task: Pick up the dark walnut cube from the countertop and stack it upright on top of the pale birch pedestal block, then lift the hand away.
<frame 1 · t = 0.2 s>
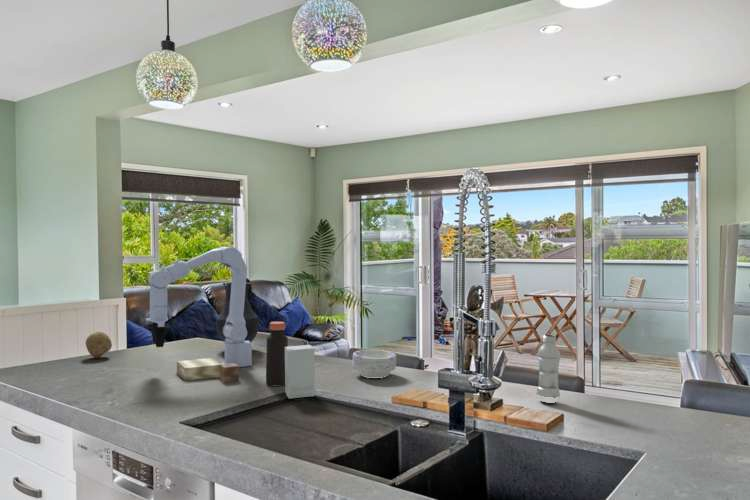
hand: (158, 344, 196), 10 cm above the worktop, tool pointing down, fingers open, 7 cm apart
natural sponge: (98, 358, 220), on the worktop
vinegar: (276, 384, 185), on the worktop
walnut cube: (229, 380, 189), on the worktop
skincare box: (299, 396, 172), on the worktop
birch pedestal: (198, 374, 196), on the worktop
plastic bottle: (547, 403, 169), on the worktop
grey stone bowl: (374, 376, 199), on the worktop
pitcher: (239, 349, 241), on the worktop
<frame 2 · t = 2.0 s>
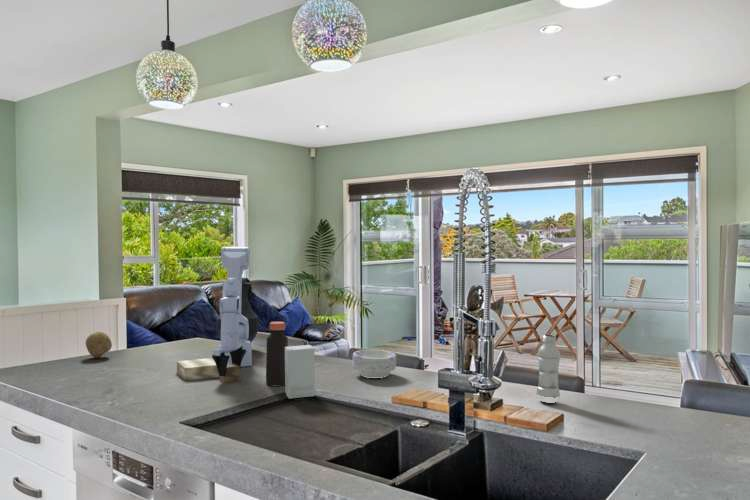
hand: (229, 373, 189), 2 cm above the worktop, tool pointing down, fingers open, 7 cm apart
walnut cube: (229, 380, 189), on the worktop, touching gripper
everything else where it was.
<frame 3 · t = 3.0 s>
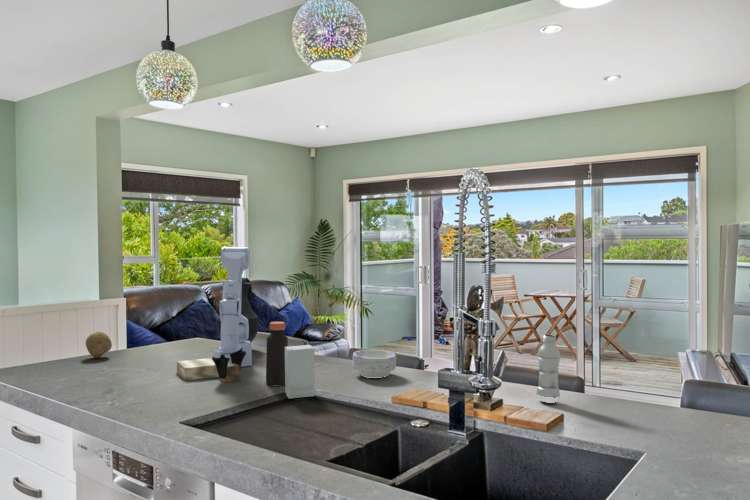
hand: (229, 375, 189), 1 cm above the worktop, tool pointing down, fingers closed on walnut cube, 7 cm apart
walnut cube: (229, 379, 189), on the worktop, touching gripper
everything else where it was.
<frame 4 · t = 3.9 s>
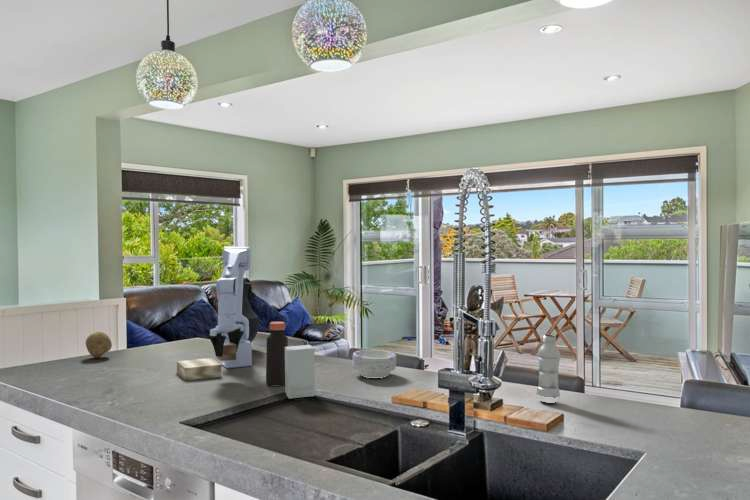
hand: (226, 354, 190), 8 cm above the worktop, tool pointing down, fingers closed on walnut cube, 7 cm apart
walnut cube: (226, 358, 190), point 7 cm above the worktop, touching gripper
everything else where it was.
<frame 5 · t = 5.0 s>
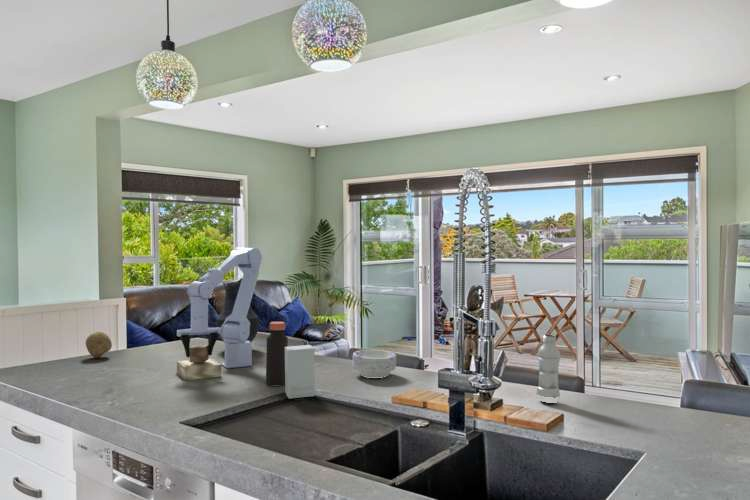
hand: (198, 355, 196), 6 cm above the worktop, tool pointing down, fingers closed on walnut cube, 7 cm apart
walnut cube: (199, 360, 196), point 5 cm above the worktop, touching gripper
everything else where it was.
when the fingers open (6 cm above the worktop, at t = 5.6 s): walnut cube stays where it is, resting on birch pedestal.
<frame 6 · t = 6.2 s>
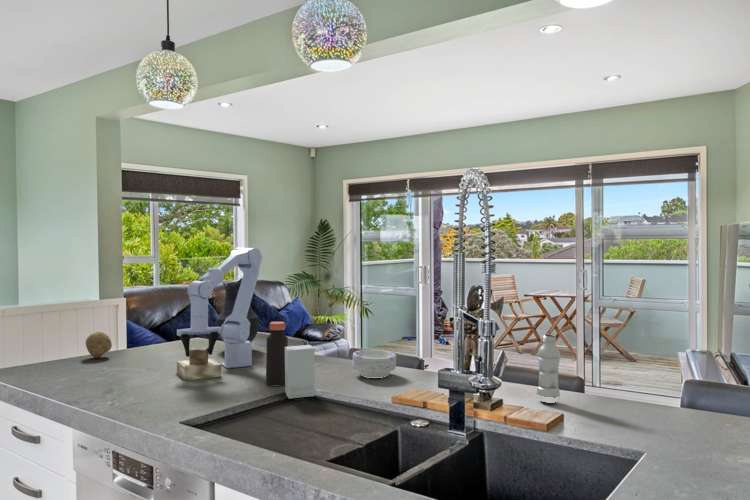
hand: (199, 355, 196), 7 cm above the worktop, tool pointing down, fingers open, 7 cm apart
walnut cube: (198, 363, 196), point 4 cm above the worktop, touching birch pedestal, gripper
everything else where it was.
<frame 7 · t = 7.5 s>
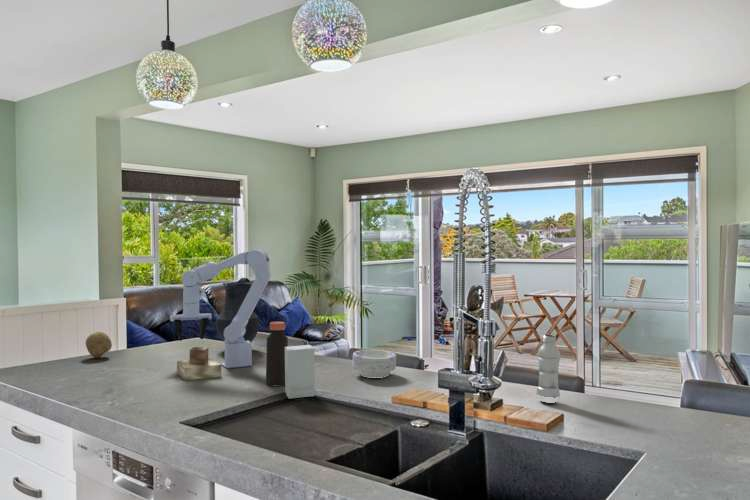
hand: (190, 339, 210), 9 cm above the worktop, tool pointing down, fingers open, 7 cm apart
walnut cube: (198, 363, 196), point 4 cm above the worktop, touching birch pedestal
everything else where it was.
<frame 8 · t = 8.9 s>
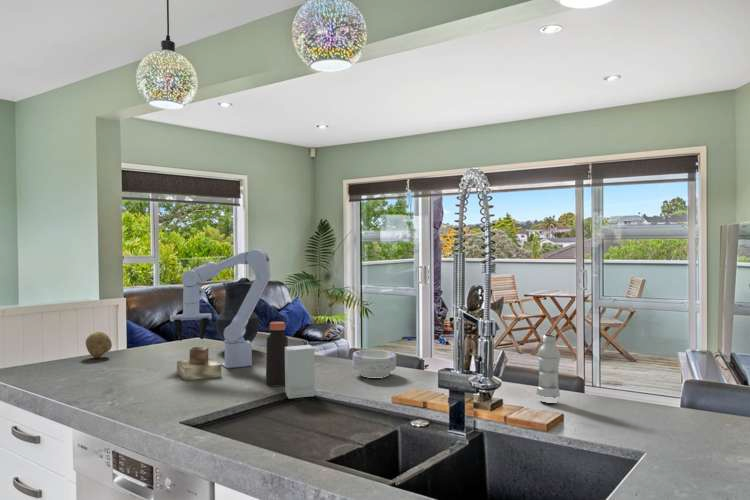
hand: (190, 339, 210), 9 cm above the worktop, tool pointing down, fingers open, 7 cm apart
nothing on the worktop moved.
at the end: walnut cube inside the target area on the birch pedestal (0.4 cm from its centre), point 4.0 cm above the birch pedestal's base; walnut cube tilted 0°; the gripper is holding nothing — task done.
